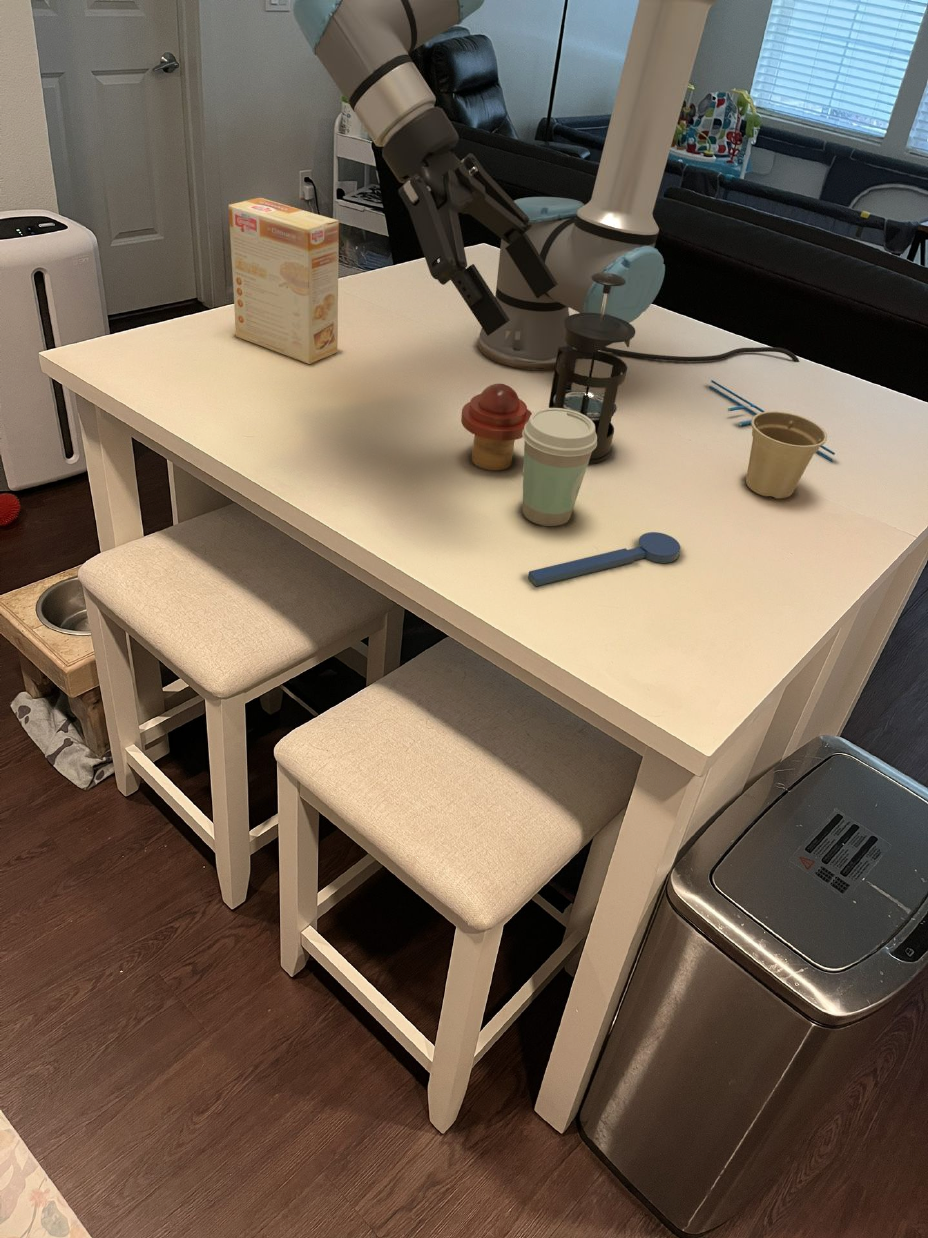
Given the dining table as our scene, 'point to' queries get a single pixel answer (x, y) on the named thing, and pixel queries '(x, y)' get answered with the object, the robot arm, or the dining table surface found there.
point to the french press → (587, 339)
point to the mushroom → (495, 425)
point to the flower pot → (781, 451)
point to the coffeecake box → (285, 278)
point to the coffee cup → (555, 463)
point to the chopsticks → (753, 412)
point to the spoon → (611, 559)
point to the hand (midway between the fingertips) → (524, 309)
